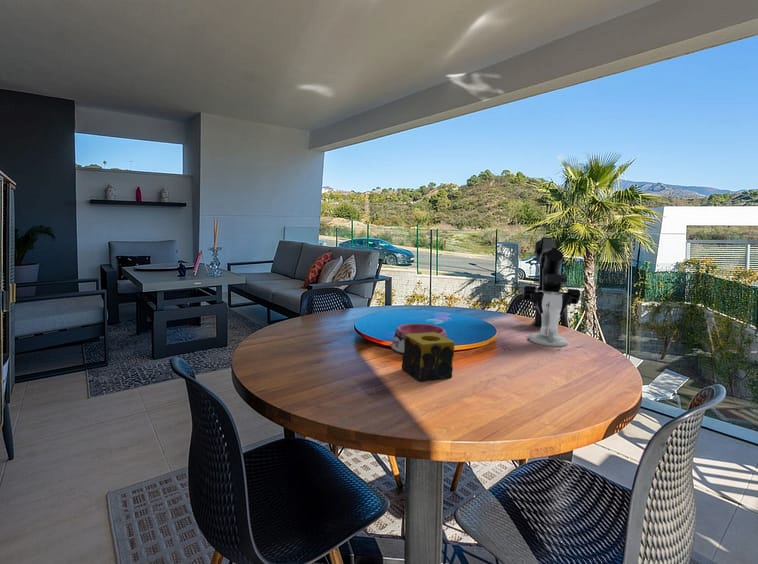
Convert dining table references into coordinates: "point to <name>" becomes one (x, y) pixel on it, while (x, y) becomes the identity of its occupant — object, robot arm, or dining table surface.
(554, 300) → the beer glass
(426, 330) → the dog bowl
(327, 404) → the dining table surface
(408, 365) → the candle
